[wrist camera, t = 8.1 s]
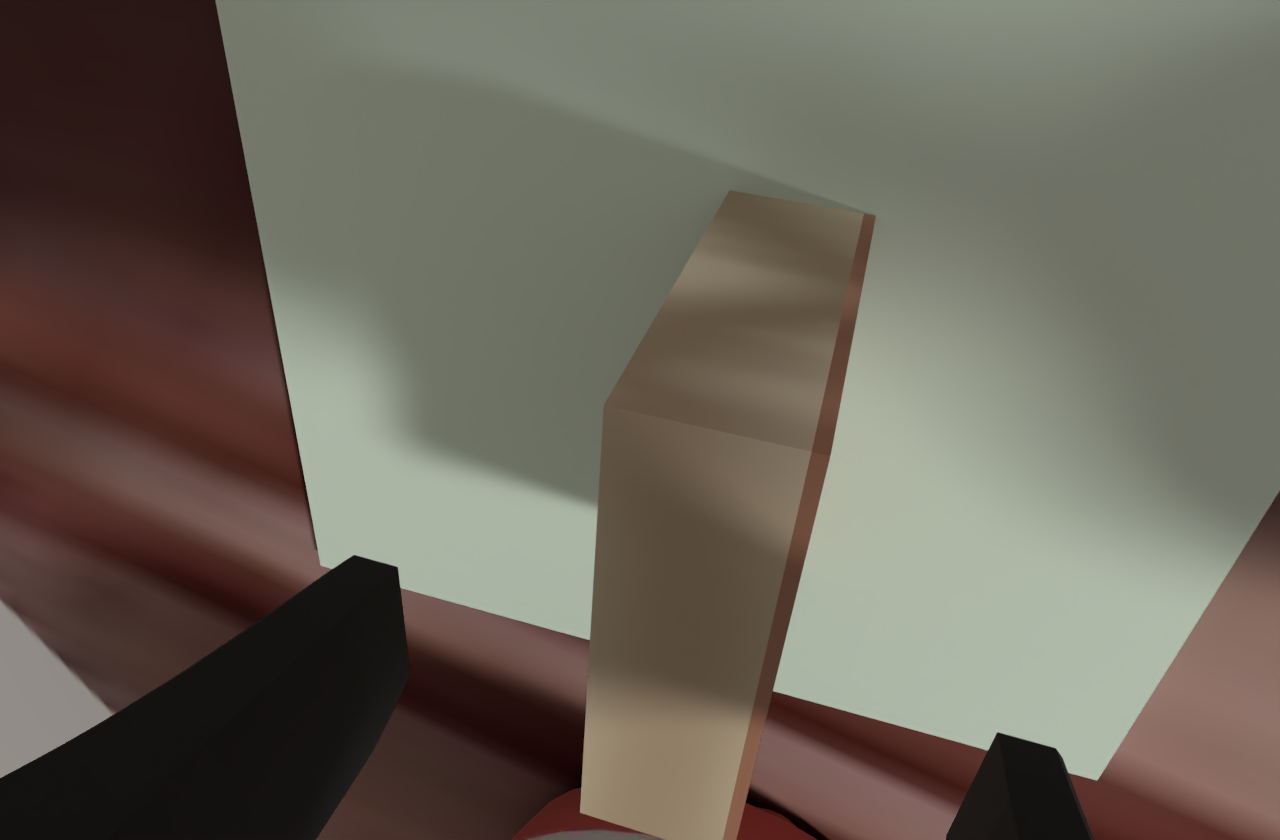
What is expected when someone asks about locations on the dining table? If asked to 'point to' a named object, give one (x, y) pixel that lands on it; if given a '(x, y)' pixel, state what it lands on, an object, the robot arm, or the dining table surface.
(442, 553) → the mat
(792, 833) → the citrus juicer
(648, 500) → the tile
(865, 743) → the dining table surface
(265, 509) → the dining table surface
